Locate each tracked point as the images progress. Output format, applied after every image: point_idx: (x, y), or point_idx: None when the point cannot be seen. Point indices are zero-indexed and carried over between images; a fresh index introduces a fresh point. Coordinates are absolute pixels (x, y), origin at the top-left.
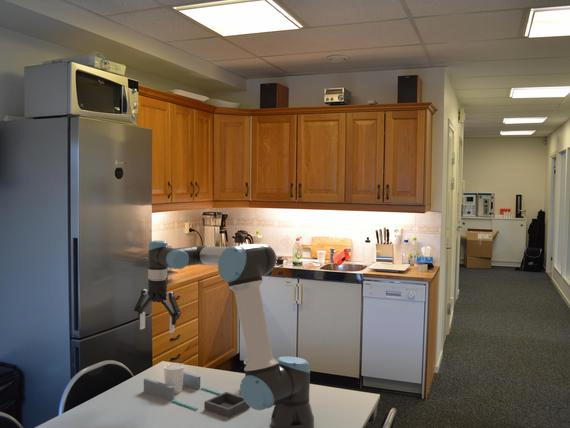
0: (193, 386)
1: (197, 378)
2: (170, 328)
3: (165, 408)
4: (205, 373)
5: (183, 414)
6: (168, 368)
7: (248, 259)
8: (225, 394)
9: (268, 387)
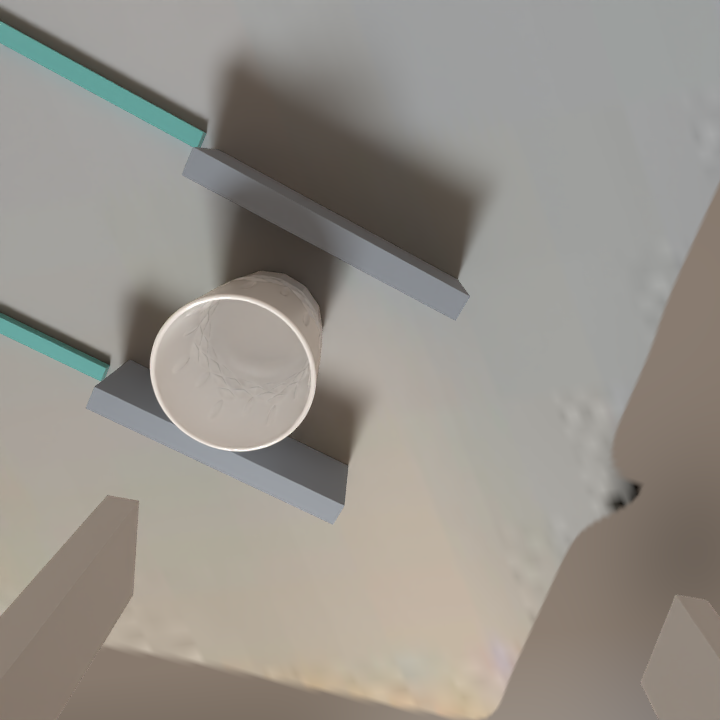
0: None
1: (101, 384)
2: (77, 546)
3: (200, 11)
4: (189, 595)
5: None
6: (302, 400)
7: None
8: None
9: None
